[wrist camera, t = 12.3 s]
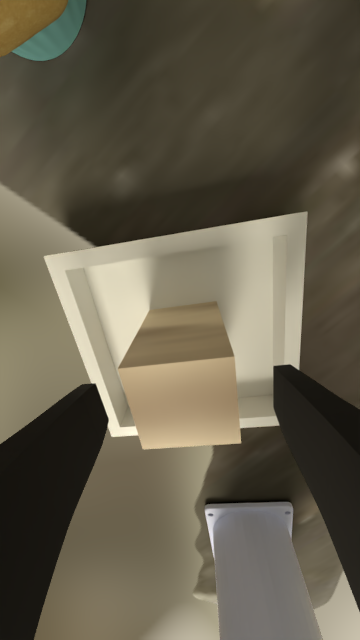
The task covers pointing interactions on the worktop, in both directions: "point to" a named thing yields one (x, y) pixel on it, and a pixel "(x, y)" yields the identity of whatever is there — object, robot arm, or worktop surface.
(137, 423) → the wooden block
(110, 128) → the worktop surface
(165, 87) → the worktop surface
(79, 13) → the cupcake
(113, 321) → the tray
